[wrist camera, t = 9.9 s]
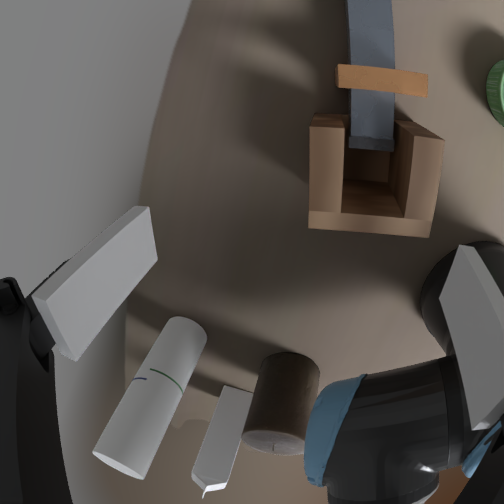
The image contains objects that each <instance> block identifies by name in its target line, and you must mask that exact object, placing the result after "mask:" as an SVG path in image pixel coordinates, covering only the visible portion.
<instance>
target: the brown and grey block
mask: <svg viewBox="0 0 504 504" xmlns="http://www.w3.org/2000/svg"><path fill="white" fill-rule="evenodd" d="M345 11H346V26H347V45H348V65H345V64H338V65H337V67H336V68H335V85H336V86H337V87H339V88H349V121H348V129H347V136H346V139H347V143H348V147H349V148H358V149H369V150H380V151H389V152H394V144H395V140H394V139H393V127H394V101H395V93H400V94H407V95H414V96H420V97H426V98H427V94H428V75H426V74H421V73H415V72H409V71H402V70H395V55H394V31H393V16H392V4H391V0H345Z"/></svg>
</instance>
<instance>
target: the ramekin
mask: <svg viewBox="0 0 504 504" xmlns="http://www.w3.org/2000/svg"><path fill="white" fill-rule="evenodd" d="M486 94H487V100H488V104H489V107H490V109H491V111H492V113H493V115H494V117H495V118H496V120H497V121H498V122H499V123H500V124H501V125H502V126H503V127H504V60H501V61H499V62H497V63H496V64H495V65H494V66H493V67H492V68H491V70H490V72H489V74H488V77H487V82H486Z"/></svg>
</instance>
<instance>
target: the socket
mask: <svg viewBox="0 0 504 504" xmlns="http://www.w3.org/2000/svg"><path fill="white" fill-rule="evenodd" d="M348 121H349V115H344V114H326V113H315V114H314V117H313V119H312V122H311V124H310V127H309V130H310V171H309V222H308V228H313V229H327V230H341V231H354V232H366V233H378V234H390V235H401V236H412V237H423V238H429V234H430V230H431V225H432V220H433V215H434V210H435V205H436V200H437V194H438V188H439V182H440V175H441V168H442V161H443V153H444V144H445V140H443V139H442V138H440V137H439V136H437V135H435V134H434V133H432V132H431V131H429V130H427V129H426V128H424V127H422V126H421V125H419V124H417V123H415V122H411V121H404V120H396V119H394V127H393V139H394V140H395V144H394V152H389V151H380V150H369V149H358V148H349V147H348V143H347V139H346V136H347V129H348Z"/></svg>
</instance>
